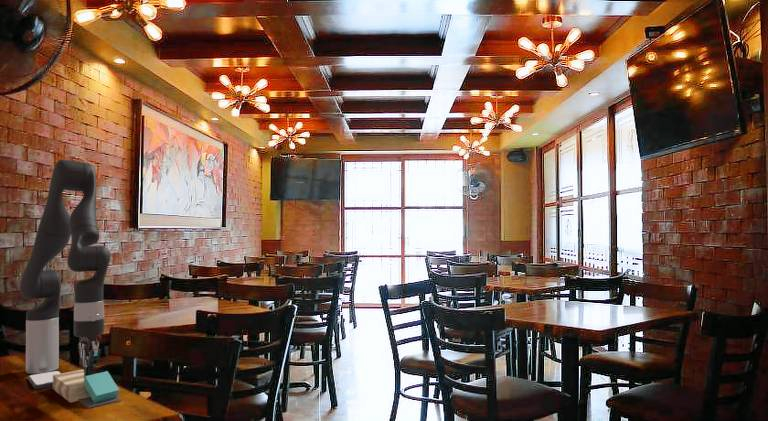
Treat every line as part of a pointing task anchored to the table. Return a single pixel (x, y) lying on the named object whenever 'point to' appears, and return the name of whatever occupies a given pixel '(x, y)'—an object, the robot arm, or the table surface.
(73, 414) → the table surface
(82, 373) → the board
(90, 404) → the mat
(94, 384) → the turquoise rectangular block
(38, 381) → the phone case
